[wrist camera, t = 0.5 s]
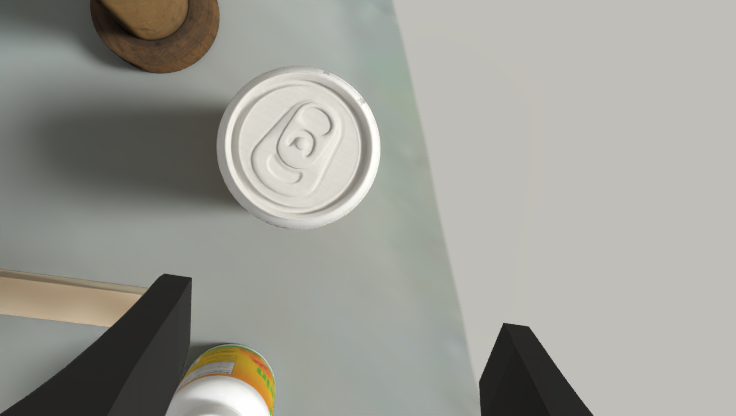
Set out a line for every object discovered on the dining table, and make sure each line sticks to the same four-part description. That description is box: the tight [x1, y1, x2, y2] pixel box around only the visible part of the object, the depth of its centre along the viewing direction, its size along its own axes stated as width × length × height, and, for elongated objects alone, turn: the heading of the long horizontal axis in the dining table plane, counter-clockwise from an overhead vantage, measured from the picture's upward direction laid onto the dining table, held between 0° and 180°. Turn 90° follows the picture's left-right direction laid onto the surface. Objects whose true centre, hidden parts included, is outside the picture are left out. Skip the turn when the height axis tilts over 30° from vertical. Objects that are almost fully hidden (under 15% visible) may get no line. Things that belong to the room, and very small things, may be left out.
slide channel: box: [0, 269, 149, 327], centre depth 34 cm, size 10×14×2 cm
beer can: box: [217, 66, 380, 229], centre depth 29 cm, size 6×6×15 cm
